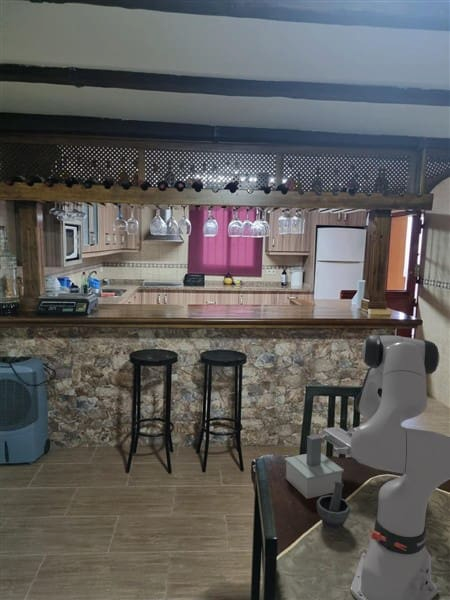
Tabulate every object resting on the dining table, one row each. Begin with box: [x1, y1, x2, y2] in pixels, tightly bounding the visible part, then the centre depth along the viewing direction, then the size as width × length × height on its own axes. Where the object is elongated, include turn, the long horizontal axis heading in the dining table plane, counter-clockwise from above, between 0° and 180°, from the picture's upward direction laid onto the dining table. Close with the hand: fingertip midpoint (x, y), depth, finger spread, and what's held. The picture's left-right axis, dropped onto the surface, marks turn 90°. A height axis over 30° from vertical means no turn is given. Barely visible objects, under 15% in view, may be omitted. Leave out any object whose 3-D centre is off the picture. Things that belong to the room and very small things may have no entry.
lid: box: [284, 434, 345, 480], centre depth 150 cm, size 15×15×12 cm
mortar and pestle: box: [316, 481, 351, 533], centre depth 128 cm, size 11×9×12 cm
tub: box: [285, 461, 343, 500], centre depth 151 cm, size 14×14×7 cm
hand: (327, 445), depth 152 cm, fingers open, 8 cm apart
